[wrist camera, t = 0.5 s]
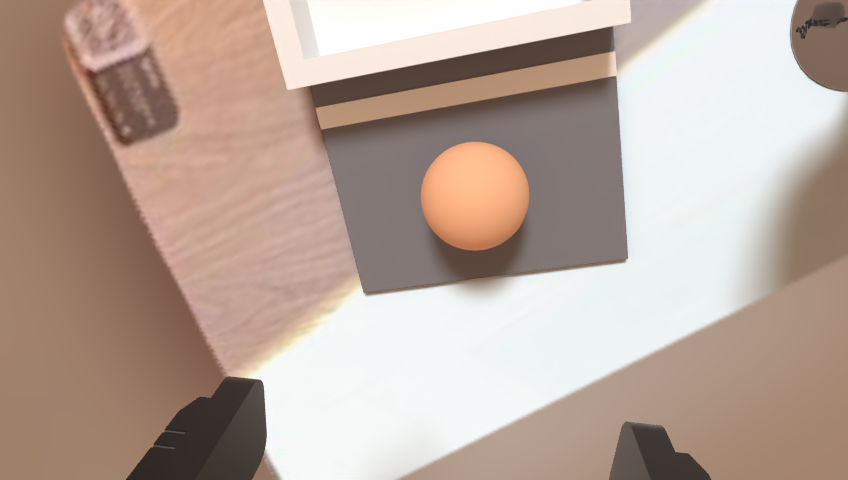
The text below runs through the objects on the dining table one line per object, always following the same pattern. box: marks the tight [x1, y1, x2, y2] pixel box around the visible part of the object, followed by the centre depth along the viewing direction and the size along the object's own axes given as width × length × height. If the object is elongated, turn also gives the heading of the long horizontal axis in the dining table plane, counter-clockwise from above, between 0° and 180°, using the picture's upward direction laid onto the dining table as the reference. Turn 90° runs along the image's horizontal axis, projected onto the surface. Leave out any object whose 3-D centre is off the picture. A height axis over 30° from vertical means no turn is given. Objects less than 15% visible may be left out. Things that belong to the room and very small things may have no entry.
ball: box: [421, 142, 529, 251], centre depth 28 cm, size 6×6×6 cm
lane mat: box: [310, 26, 628, 293], centre depth 28 cm, size 16×30×1 cm, turn 11°
